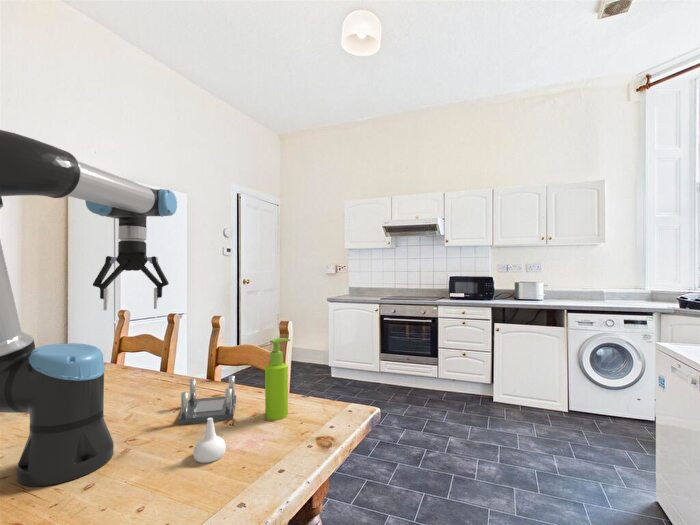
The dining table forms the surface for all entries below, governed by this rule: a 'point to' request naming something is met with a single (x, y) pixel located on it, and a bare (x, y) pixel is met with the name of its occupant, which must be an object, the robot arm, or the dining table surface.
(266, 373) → the soap dispenser
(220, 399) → the display stand
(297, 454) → the dining table surface
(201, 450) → the garlic bulb
